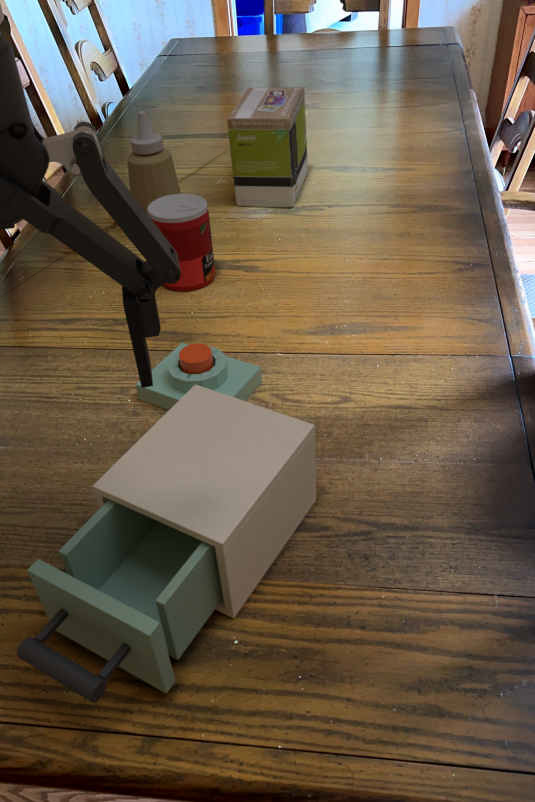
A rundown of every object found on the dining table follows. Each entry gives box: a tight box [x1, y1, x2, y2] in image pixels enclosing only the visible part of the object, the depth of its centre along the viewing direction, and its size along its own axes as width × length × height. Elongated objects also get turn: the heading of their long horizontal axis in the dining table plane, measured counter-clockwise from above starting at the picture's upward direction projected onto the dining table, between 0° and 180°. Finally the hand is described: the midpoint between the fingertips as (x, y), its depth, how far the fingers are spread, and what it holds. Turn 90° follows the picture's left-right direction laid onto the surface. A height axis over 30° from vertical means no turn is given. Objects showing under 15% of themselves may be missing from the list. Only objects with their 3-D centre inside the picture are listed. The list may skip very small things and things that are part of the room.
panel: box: [135, 342, 263, 411], centre depth 80 cm, size 11×9×4 cm
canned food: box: [147, 193, 216, 292], centre depth 97 cm, size 8×8×11 cm
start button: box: [179, 343, 213, 374], centre depth 79 cm, size 4×4×2 cm
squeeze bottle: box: [126, 110, 182, 214], centre depth 108 cm, size 8×8×18 cm
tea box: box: [226, 86, 309, 208], centre depth 118 cm, size 15×10×15 cm, turn 168°
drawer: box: [16, 499, 223, 704], centre depth 56 cm, size 18×11×8 cm, turn 150°
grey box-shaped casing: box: [92, 385, 317, 619], centre depth 63 cm, size 15×13×10 cm
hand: (43, 391), depth 47 cm, fingers open, 13 cm apart
